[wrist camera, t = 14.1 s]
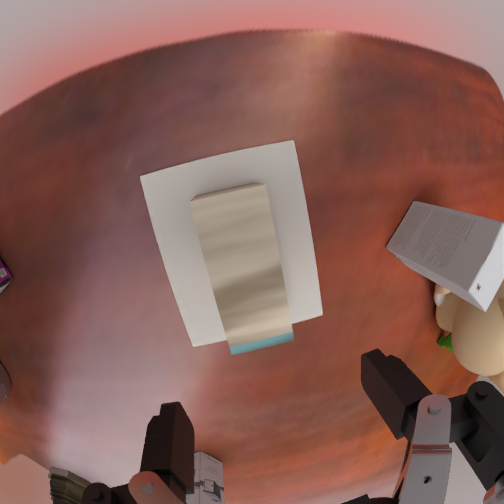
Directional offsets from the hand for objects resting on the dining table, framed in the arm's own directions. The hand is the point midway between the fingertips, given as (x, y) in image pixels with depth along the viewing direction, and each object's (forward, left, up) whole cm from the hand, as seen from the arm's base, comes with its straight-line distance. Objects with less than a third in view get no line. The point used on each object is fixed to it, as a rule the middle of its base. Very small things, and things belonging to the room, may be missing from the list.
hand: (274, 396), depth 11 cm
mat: (-1, +2, -15) cm, 15 cm away
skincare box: (+14, +11, -15) cm, 23 cm away
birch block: (+3, -3, -12) cm, 13 cm away
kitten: (+26, +7, -15) cm, 31 cm away
